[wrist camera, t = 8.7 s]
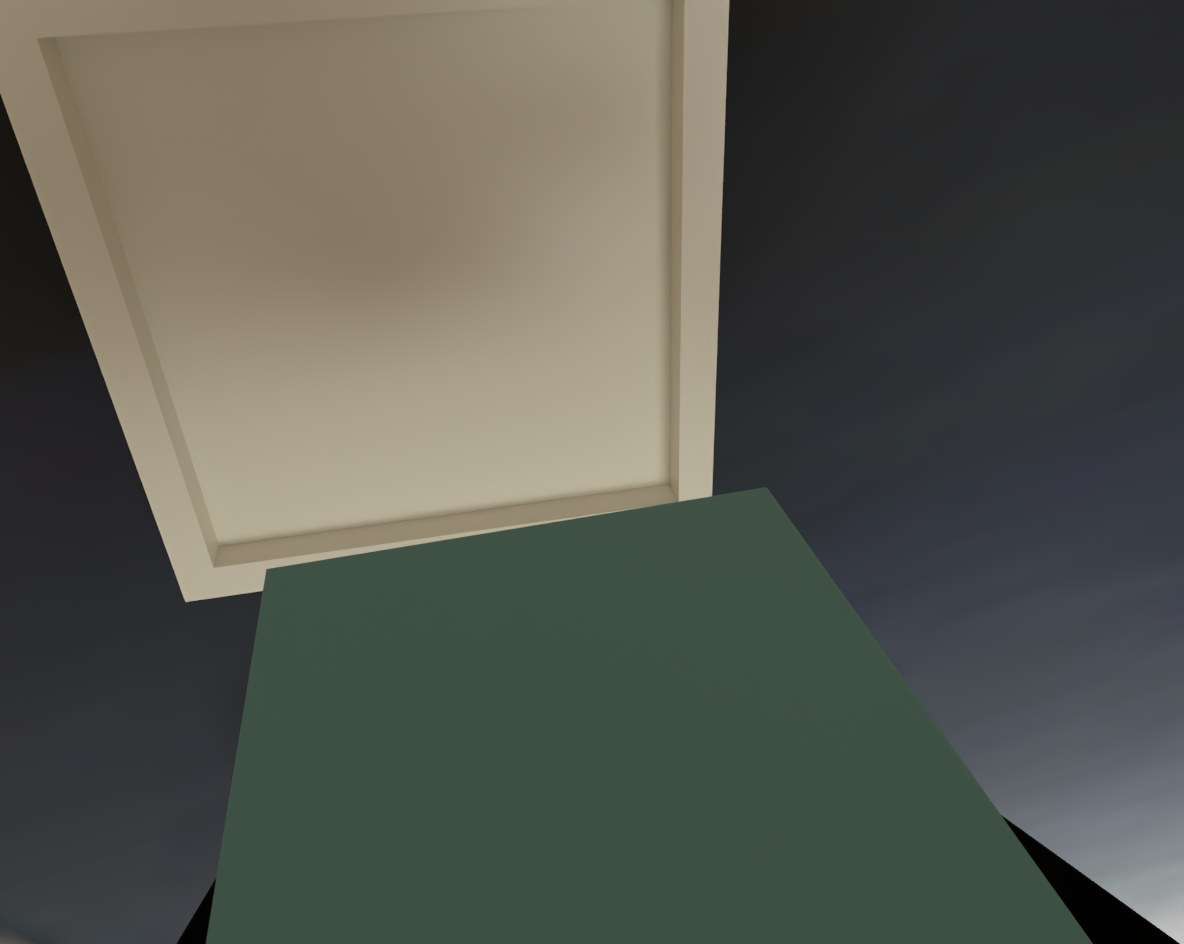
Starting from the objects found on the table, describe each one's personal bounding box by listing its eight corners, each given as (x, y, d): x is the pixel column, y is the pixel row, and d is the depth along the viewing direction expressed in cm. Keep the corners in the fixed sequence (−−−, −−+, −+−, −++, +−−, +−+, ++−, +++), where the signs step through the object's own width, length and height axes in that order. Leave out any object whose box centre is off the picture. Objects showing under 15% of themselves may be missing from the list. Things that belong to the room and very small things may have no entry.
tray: (707, -61, 16) (731, -61, 15) (694, 494, 23) (711, 525, 21) (-6, -23, 15) (-41, -18, 13) (197, 563, 21) (185, 602, 20)
